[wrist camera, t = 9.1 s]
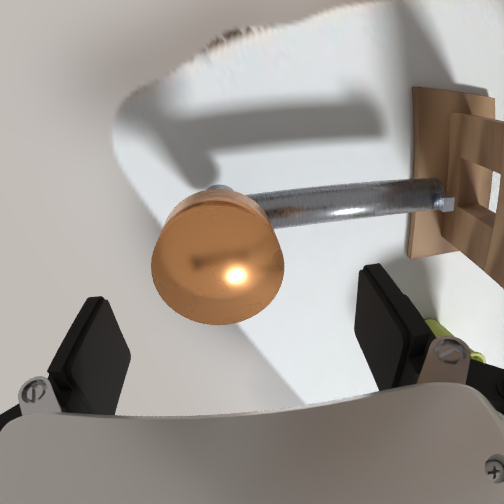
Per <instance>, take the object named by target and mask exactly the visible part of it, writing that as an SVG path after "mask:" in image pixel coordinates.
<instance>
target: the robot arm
mask: <svg viewBox="0 0 504 504" xmlns="http://www.w3.org/2000/svg"><path fill="white" fill-rule="evenodd" d="M354 331H355V335H356V338H357V340H358V342H359V345H360V347H361V349H362V351H363V354H364V356H365V358H366V361H367V363H368V365H369V367H370V370H371V372H372V374H373V377H374V379H375V382H376V384H377V386H378V389H379V391H378V392H373V393H369V394H364V395H359V396H354V397H349V398H343V399H338V400H332V401H327V402H321V403H315V404H309V405H303V406H296V407H288V408H281V409H273V410H264V411H255V412H244V413H233V414H218V415H199V416H158V417H157V416H117V415H115V411H116V408H117V404H118V400H119V397H120V393H121V389H122V387H123V383H124V380H125V376H126V373H127V370H128V367H129V363H130V360H131V354H130V350H129V348H128V346H127V344H126V342H125V339H124V337H123V335H122V333H121V330H120V328H119V325H118V323H117V321H116V318H115V316H114V313H113V311H112V309H111V306H110V304H109V302H108V300H105V299H104V298H103V297H102V296H99V297H89V298H87V300H86V302H85V303H84V305H83V307H82V308H81V310H80V312H79V313H78V315H77V317H76V318H75V320H74V322H73V324H72V326H71V327H70V329H69V331H68V333H67V335H66V336H65V338H64V340H63V342H62V343H61V345H60V347H59V349H58V351H57V353H56V355H55V357H54V358H53V360H52V362H51V364H50V366H49V368H48V370H47V372H48V373H49V377H48V378H45V377H42V376H38V377H34V378H31V379H29V380H28V381H27V382H25V383H24V384H23V385H22V387H21V388H20V390H19V394H18V400H19V404H17V405H16V406H14V407H12V408H11V409H9V410H7V411H6V412H4V413H2V414H1V415H0V504H504V369H501V368H498V367H495V366H492V365H489V364H486V363H483V362H480V361H477V360H474V359H471V351H470V349H469V347H468V345H467V344H466V343H465V342H464V341H462V340H461V339H459V338H456V337H453V336H441V337H438V338H437V337H436V336H435V335H434V333H433V332H432V330H431V329H430V327H429V326H428V324H427V323H426V322H425V320H424V319H423V317H422V316H421V315H420V313H419V312H418V310H417V309H416V308H415V306H414V305H413V303H412V302H411V301H410V299H409V298H408V297H407V296H406V295H404V294H403V293H402V292H401V291H400V289H399V288H398V287H397V285H396V284H395V283H394V281H393V280H392V279H391V277H390V276H389V275H388V273H387V272H386V271H385V269H384V268H383V267H382V265H381V264H380V263H377V264H371V265H365V266H364V268H363V270H360V271H359V279H358V292H357V304H356V315H355V325H354Z"/></svg>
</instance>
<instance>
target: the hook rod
mask: <svg viewBox="0 0 504 504" xmlns="http://www.w3.org/2000/svg"><path fill="white" fill-rule="evenodd" d="M454 201H455V197H453V196H452V195H450V194H448V193H446V192H444V188H443V185H442V183H441V181H440V180H439V179H437V178H419V179H403V180H388V181H374V182H362V183H350V184H339V185H329V186H319V187H309V188H300V189H291V190H282V191H274V192H265V193H257V194H250V195H243V194H241V193H238V192H235V191H233V190H232V189H231V188H230V187H228V186H225V185H214V186H211V187H209V188H208V189H206V190H205V191H201V192H198V193H195V194H193V195H191V196H189V197H187V198H186V199H184V200H183V201H181V202H180V203H179V204H178V205H177V206H176V207H175V208H174V209H173V210H172V212H171V213H170V215H169V216H168V218H167V220H166V222H165V225H164V227H163V229H162V232H161V234H160V236H159V239H158V241H157V243H156V246H155V248H154V251H153V255H152V262H151V270H152V277H153V282H154V284H155V287H156V289H157V291H158V293H159V295H160V296H161V297H162V299H163V300H164V301H165V302H166V303H167V305H168V306H169V307H171V308H172V309H173V310H174V311H175V312H177V313H179V314H180V315H182V316H184V317H186V318H188V319H190V320H193V321H195V322H199V323H203V324H210V325H227V324H233V323H237V322H241V321H244V320H246V319H248V318H251V317H252V316H254V315H256V314H258V313H259V312H260V311H262V310H263V309H264V308H265V307H266V306H268V305H269V304H270V302H271V301H272V300H273V299H274V297H275V296H276V294H277V293H278V291H279V288H280V286H281V283H282V280H283V275H284V259H283V254H282V251H281V248H280V245H279V242H278V240H277V237H276V234H275V232H274V229H278V228H286V227H294V226H302V225H309V224H317V223H325V222H334V221H342V220H350V219H358V218H367V217H375V216H384V215H393V214H401V213H410V212H419V211H429V210H438V209H439V210H440V211H442V212H448V211H453V210H454Z"/></svg>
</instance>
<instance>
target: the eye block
mask: <svg viewBox="0 0 504 504" xmlns="http://www.w3.org/2000/svg"><path fill="white" fill-rule="evenodd" d="M412 90H413V111H414V174H413V179H419V178H437V179H439V180H440V181H441V183H442V185H443V188H444V192H446V193H448V194H450V195H452V196H453V197H455V201H454V210H453V211H448V212H442V211H440V210H439V209H438V210H429V211H419V212H411V223H410V234H409V243H408V252H407V256H408V257H409V258H410V259H417V258H422V257H428V256H433V255H439V254H444V253H449V252H455V251H461V252H462V253H463V254H464V255H465V256H467V257H468V258H469V259H470V260H471V261H473V262H474V263H475V264H476V265H477V266H479V267H480V268H481V269H482V270H483V271H484V272H485V273H487V274H488V275H489V276H490V277H491V278H492V279H493V280H495V281H496V282H497V283H498V284H499V285H500V286H501V287H502V288H503V289H504V122H503V121H499V120H495V98H491V97H486V96H480V95H474V94H468V93H462V92H455V91H448V90H440V89H431V88H422V87H412ZM493 171H495V172H497V173H499V174H501V179H500V188H499V196H498V204H497V210H496V214H495V213H494V212H492V211H490V210H489V209H488V208H489V200H490V193H491V184H492V173H493Z"/></svg>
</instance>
